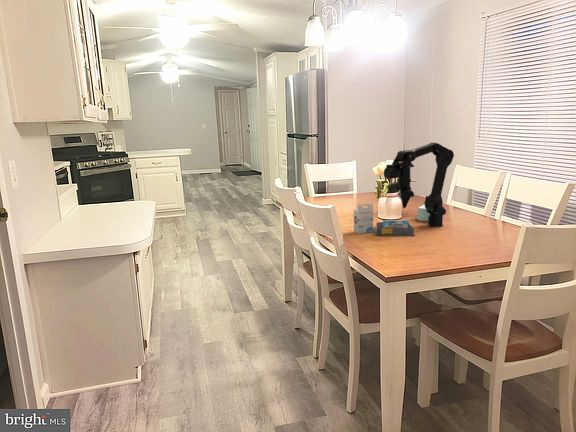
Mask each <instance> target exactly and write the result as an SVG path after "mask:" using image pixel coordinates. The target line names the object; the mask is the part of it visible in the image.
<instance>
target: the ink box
mask: <svg viewBox="0 0 576 432" xmlns="http://www.w3.org/2000/svg"><path fill="white" fill-rule="evenodd" d="M373 205H374V204H373V203H361V204H358V205H357V208H354V209H353V232H354V233H355V234H358V235H361V234H368V233H373V232H374V206H373Z"/></svg>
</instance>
